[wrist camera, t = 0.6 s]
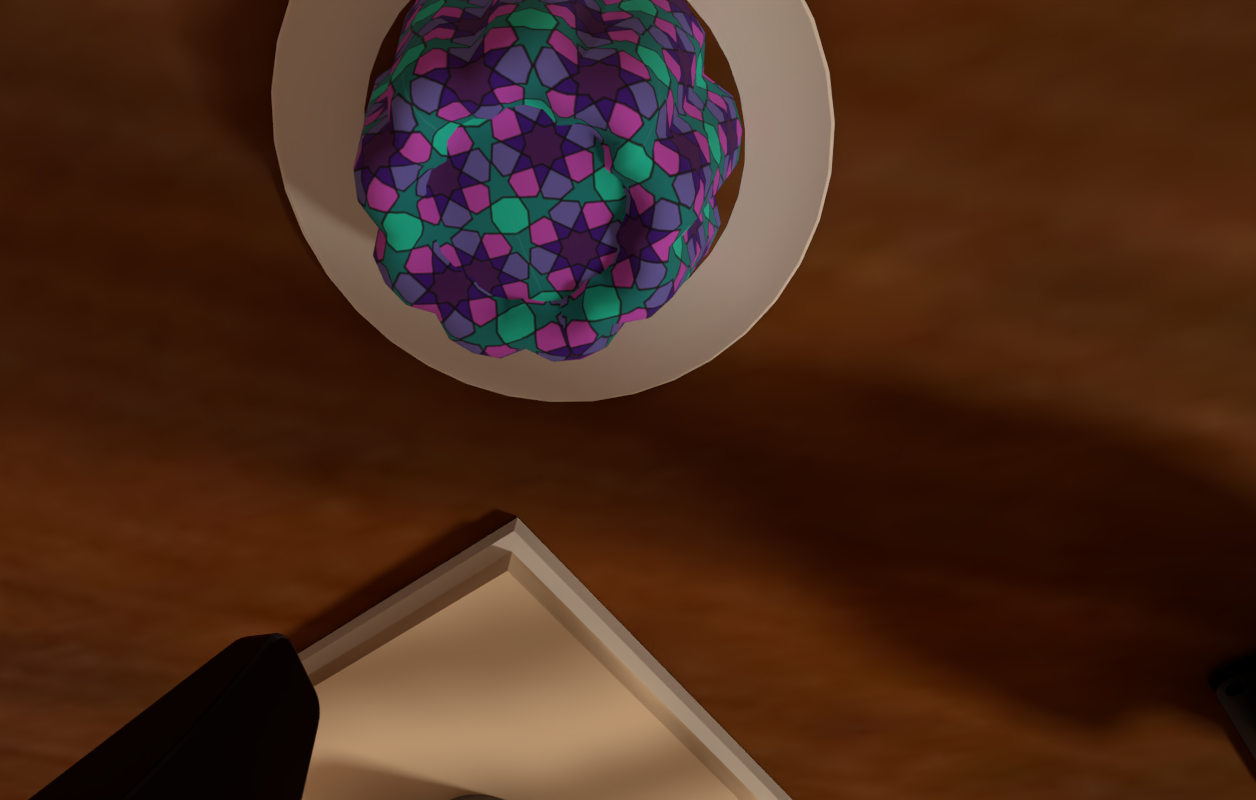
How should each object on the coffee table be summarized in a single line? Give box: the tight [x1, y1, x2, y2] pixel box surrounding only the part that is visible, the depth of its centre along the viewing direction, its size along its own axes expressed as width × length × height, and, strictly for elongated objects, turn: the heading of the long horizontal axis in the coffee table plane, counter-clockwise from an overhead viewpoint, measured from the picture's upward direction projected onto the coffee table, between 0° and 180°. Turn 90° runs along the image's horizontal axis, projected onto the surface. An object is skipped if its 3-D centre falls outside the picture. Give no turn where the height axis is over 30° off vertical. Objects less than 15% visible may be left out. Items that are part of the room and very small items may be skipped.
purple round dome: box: [271, 0, 835, 402], centre depth 17 cm, size 12×12×5 cm
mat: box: [298, 517, 792, 800], centre depth 29 cm, size 16×16×1 cm
